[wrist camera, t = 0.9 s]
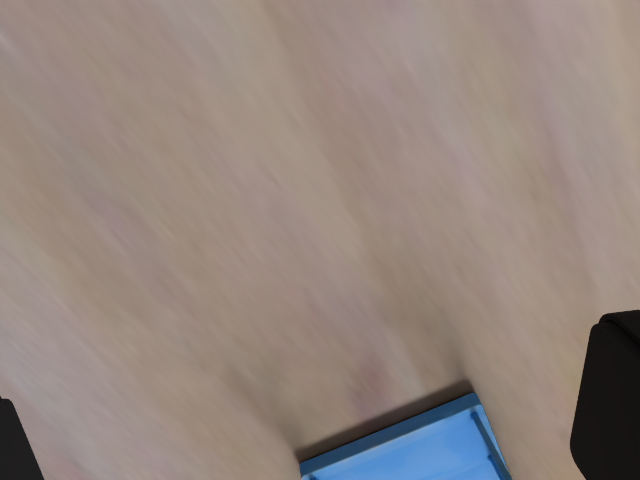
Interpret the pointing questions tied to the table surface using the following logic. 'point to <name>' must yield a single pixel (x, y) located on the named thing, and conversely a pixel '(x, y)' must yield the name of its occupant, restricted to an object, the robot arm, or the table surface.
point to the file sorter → (419, 449)
